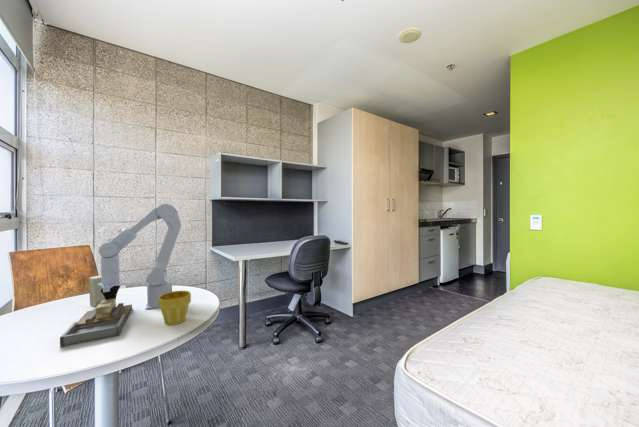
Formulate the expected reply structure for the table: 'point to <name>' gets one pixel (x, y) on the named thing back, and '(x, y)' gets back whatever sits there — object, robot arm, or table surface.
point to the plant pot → (174, 306)
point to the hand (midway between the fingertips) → (111, 305)
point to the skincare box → (95, 291)
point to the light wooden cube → (110, 302)
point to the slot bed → (116, 315)
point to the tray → (91, 332)
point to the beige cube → (103, 310)
